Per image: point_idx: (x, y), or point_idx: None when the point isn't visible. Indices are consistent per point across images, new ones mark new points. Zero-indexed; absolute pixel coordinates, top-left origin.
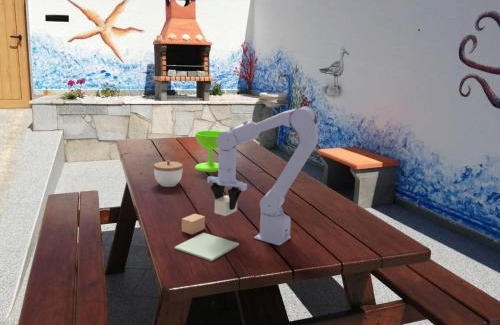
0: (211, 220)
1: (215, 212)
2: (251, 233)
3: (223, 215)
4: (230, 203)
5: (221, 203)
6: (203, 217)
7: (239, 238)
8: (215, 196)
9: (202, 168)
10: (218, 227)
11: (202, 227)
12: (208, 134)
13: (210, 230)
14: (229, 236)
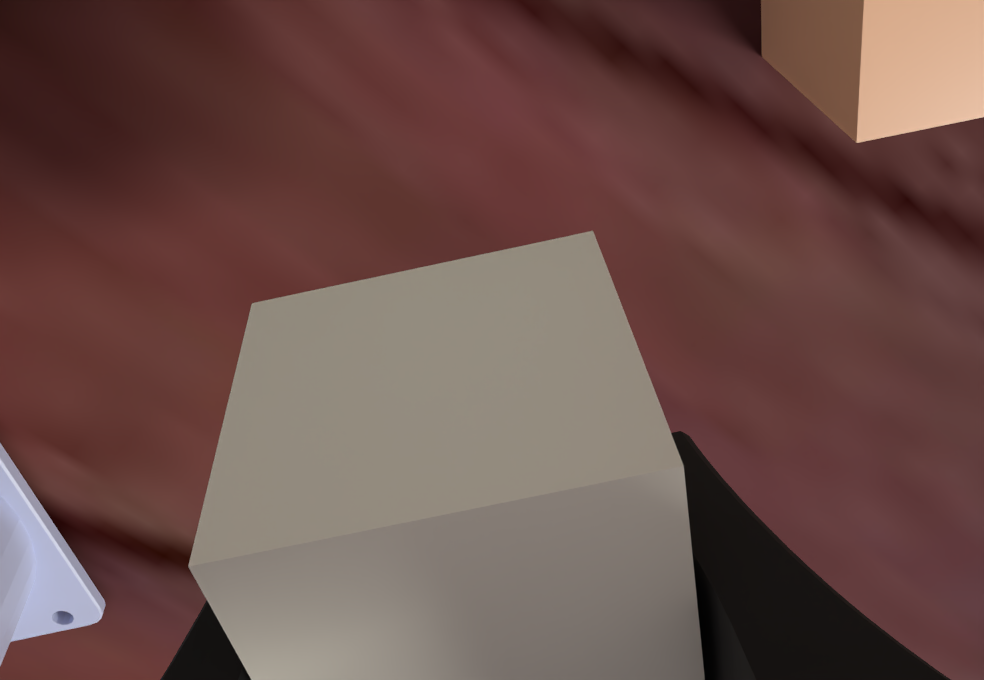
0: (888, 338)
1: (564, 248)
2: (154, 452)
3: (316, 291)
4: (213, 647)
5: (381, 479)
6: (856, 91)
7: (78, 226)
8: (809, 612)
9: None
10: (630, 255)
11: (775, 2)
12: None
13: (635, 81)
14: (235, 158)
